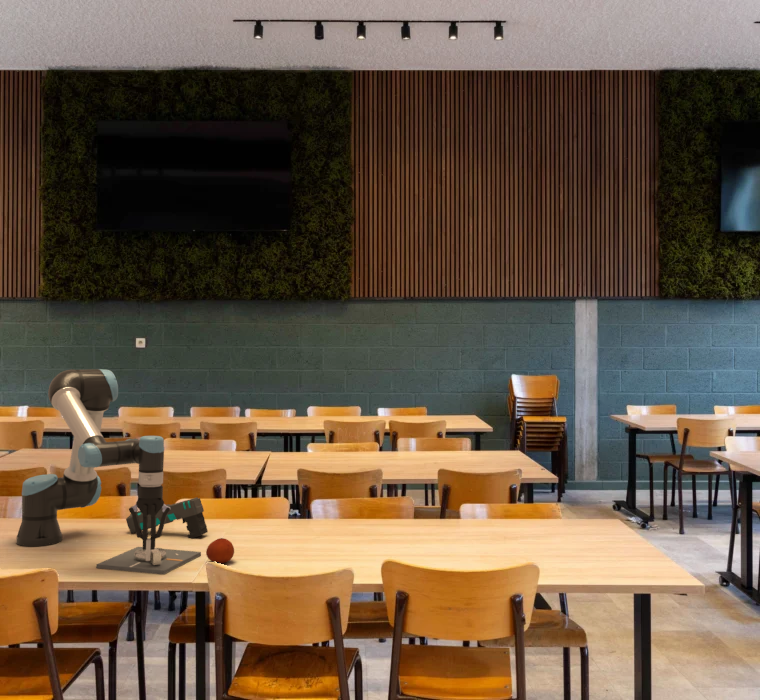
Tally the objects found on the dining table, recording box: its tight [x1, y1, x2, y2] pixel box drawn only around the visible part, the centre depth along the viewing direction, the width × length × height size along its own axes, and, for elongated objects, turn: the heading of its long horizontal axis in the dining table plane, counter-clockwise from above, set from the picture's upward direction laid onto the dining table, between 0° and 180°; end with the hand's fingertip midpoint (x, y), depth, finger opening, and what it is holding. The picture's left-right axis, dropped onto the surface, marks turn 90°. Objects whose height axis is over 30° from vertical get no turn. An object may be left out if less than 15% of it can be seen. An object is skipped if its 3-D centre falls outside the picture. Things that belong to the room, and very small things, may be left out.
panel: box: [96, 546, 202, 575], centre depth 267 cm, size 24×24×1 cm
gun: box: [125, 497, 209, 539], centre depth 305 cm, size 7×29×15 cm, turn 77°
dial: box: [134, 547, 166, 565], centre depth 264 cm, size 16×10×4 cm, turn 27°
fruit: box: [205, 537, 235, 564], centre depth 267 cm, size 9×9×8 cm
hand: (148, 559), depth 258 cm, fingers closed
